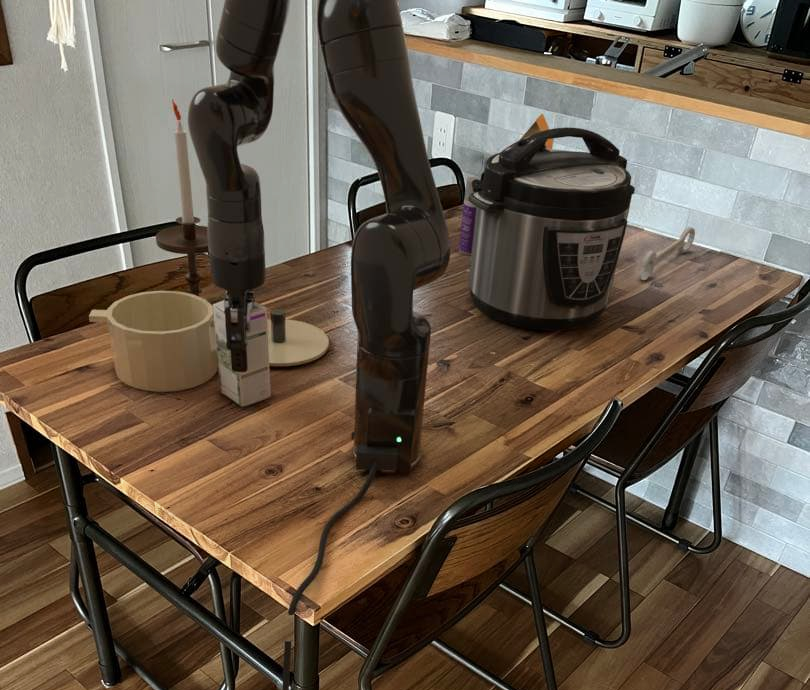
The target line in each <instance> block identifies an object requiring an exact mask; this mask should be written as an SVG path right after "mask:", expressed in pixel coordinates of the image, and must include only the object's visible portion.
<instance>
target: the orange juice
mask: <svg viewBox="0 0 810 690" xmlns="http://www.w3.org/2000/svg"><path fill="white" fill-rule="evenodd" d="M549 129H550V127H549V125H548V122H547V120H546V117H545V115H544V113H541V114H540V115H539V116H538V117H537V118H536V119H535V121H534V122H533V123H532V124H531V126H530V127H529V128H528V129H527V131H526V132H525V133H524V134H523V135H522V136H521V138H519V140H521V139H523V138H525V137H527V136H530V135H532V134H535V133H538V132H541V131H545V130H549ZM554 141H555V138H553V139H547V142H546V143H545V146H546V148H545V149H553V147H554Z"/></svg>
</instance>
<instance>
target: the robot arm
mask: <svg viewBox="0 0 810 690" xmlns="http://www.w3.org/2000/svg"><path fill="white" fill-rule="evenodd" d="M290 6H291V0H224V1H223V7H222V11H221V15H220V20H219V25H218V29H217V35H216V39H215V53H216V56H217V58H218V59H217V60H218V61H219V62H220V63H221V64H222V65H223V66H224V67H225V68H226V69H227V70H229V77H228V79H227V82H226V83H220V84H216V85H211V86H207V87H203V88H201V89H199V90H198V91H196V92H195V93H194V95H193V96H192V98H191V100H190V103H189V106H188V111H187V126H188V132H189V137H190V140H191V142H192V145H193V148H194V151H195V155H196V158H197V161H198V164H199V168H200V170H201V173H202V176H203V179H204V182H205V193H206V207H207V226H206V227H207V235H208V248H209V252H208V262H209V272H210V281H211V282H212V284H213V285H214V286H215V287H217V288H219V289H223V290H225V297H224V298H223V300H224V308H225V310H224V314H225V328H226V339H227V343H226V347H227V350H231V366H232V370H233V371H234V372H246V371H247V368H248V363H247V346H248V342H247V333H249V332H250V331H251V311H252V310H253V303H255V302H256V295H255V291H254V290H256V289H259V288H260V287H262V286H263V285H264V284H265V282H266V279H267V276H266V247H265V230H264V224H263V216H262V212H263V211H262V189H261V179H260V175H259V174H258V171H257V170H256V169H255V168H254V167H252V166H250V165H248V164H244V163H241V160H240V156H239V153H238V147H240V146H244V145H248V144H251V143H254V142H256V141H257V140H260V138H261V137H263V135H264V134H265V132H266V131H267V130H268V127H269V125H270V123H271V121H272V117H273V112H274V99H275V98H274V94H275V92H274V91H275V62H276V60H277V57H278V53H279V50H280V47H281V44H282V40H283V36H284V32H285V29H286V25H287V21H288V16H289V13H290ZM316 7H317V8H316V31H317V37H318V43H319V46H320V52H321V56H322V62H323V65H324V71H325V75H326V78H327V84H328V87H329V90H330V93H331V97H332V99H333V102H334V103H335V105H336V107H337V108H338V110H339V112H340V114H341V116H342V117H343V118H344V120H345V121H346V123H347V124H348V126H349V127H350V129H351V130H352V132H353V133H354V134H355V136H356V137H357V138H358V140H359V141H360V143H361V144H362V145H363V147H364V148H365V150H366V151H367V153H368V154H369V156H370V158H371V160H372V162H373V165H374V167H375V169H376V171H377V174H378V178H379V181H380V185H381V189H382V192H383V197H384V202H385V209H386V213H384V214H381V215H378V216H375V217H372V218H369V219H367V220H366V221H364V222H363V223H362V224H361V225H359V227H358V229H357V230H356V231H355V234H354V236H353V241H352V245H351V251H350V289H351V292H350V293H351V312H352V318H353V321H354V325H355V327H356V331H357V339H356V341H357V343H356V363H355V395H354V396H355V397H354V398H355V399H354V428H353V431H352V432H351V435H350V437H351V438H350V442H351V441H353V446H352V457H353V460H354V461H355V470H357V471H358V470H360V471H364V473H365V474H368V476H367V477H366V480H365V481H364V484H363V486H362V487H361V489H360V490H359V492H358V493H357V494H356V495H355V497H353V499H352V500H351V501H350V502H348V503H347V504H345V506H344V507H342V508H341V509H339V510H338V511H337V512H336V513H335V514H334V515H332V516H331V517H330V519H329V520H328V521H327V523H326V525H325V526H324V528H323V530H322V533H321V536H320V540H319V546H318V552H317V558H316V561H315V564H314V566H313V568H312V570H311V571H310V573H309V574H308V576H307V577H306V578H305V579H304V580H303V582H301V583H300V585H299V586H298V588H297V589H296V591H295V592H294V595H293V596H292V599H291V602H290V604H289V607H288V611H287V614H288V615H289V616H293V615H294V614H295V613H296V610H297V606H298V603H299V601H300V599H301V597H302V595H303V594H304V592H305V591H306V589H307V588H308V587H309V586H310V585H311V584H312V582H314V580H315V579H316V578H317V576H318V574H319V573H320V572H319V571H320V570H321V567H322V564H323V560H324V557H325V550H326V544H327V539H328V536H329V534H330V531H331V530H332V527H333V526H334V525H335V523H336V522H337V521H338V520H339V519H340V518H341V517H342V516H343V515H345V514H346V513H347V512H349V511H350V510H351V509H352V508H353V507H354V506H356V505H357V504H358V503H359V502H360V501H361V500H362V498H363V497H364V496H365V494H366V493H367V492H368V490H369V488H370V486H371V484H372V482H373V480H374V478H375V476H376V475H411V473H412V472H411V471H412V469H414V468H415V467H417V466H418V464H419V463H420V461H421V455H422V453H421V452H422V451H421V444H422V435H423V434H422V432H423V422H424V411H425V399H426V388H427V376H428V375H427V374H428V367H429V354H430V346H431V334H432V330H431V329H432V328H431V324H430V321H429V320H428V319H427V318H426V317H425V316H424V315H422V314H420V313H418V312H416V311H414V291H416V290H418V289H421V288H422V287H425V286H427V285H429V284H431V283H433V282H435V281H437V280H439V279H440V278H441V277H443V275H444V274H445V272H446V270H447V268H448V266H449V263H450V259H451V238H450V233H449V229H448V224H447V221H446V218H445V213H444V209H443V206H442V203H441V199H440V196H439V191H438V188H437V186H436V182H435V178H434V174H433V171H432V167H431V164H430V161H429V160H430V159H429V156H428V152H427V148H426V143H425V138H424V132H423V128H422V122H421V118H420V113H419V109H418V103H417V98H416V94H415V89H414V84H413V78H412V77H413V76H412V70H411V63H410V58H409V52H408V46H407V41H406V36H405V30H404V27H403V25H404V23H403V20H402V16H401V11H400V5H399V3H398V0H317V6H316ZM246 311H247V322H246V324H245V321H244V319H245V316H246ZM233 334H240V335H241V340H236V339H233ZM291 655H292V641H291V640H288V641H287V640H285V641H284V647H283V667H282V690H290V673H291V657H292V656H291Z"/></svg>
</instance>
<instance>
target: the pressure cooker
mask: <svg viewBox="0 0 810 690" xmlns="http://www.w3.org/2000/svg"><path fill="white" fill-rule="evenodd" d="M567 137H569V138H571V137H572V138H581V139H582V140H583V142H584V144H585V146H586V149H587V150H588V151H589V152H587V151H571V150H564V149H554V148H552V149H545V148H546V146H545V143H546V142H547V139H553V138H554V139H560V138H567ZM520 139H521V138H520ZM520 139H519V140H517V141H515V142H514V143H512V144H510V145H508V146H507V147H506V148H504V149H503V150H501V151H500V152H498V153H494V154H492V155H491V156H489V157H488V158H487V160H486V161H485V167H484V171H483V172H482V173H481V175H480V177H481V180H478V179H474V180H473V181H472V187H473V192H475V193H471V194H469V199H468V200H469V201H470V202H471V203H472V204H473V205H475V206H476V216H475V226H474V236H473V244H472V253H471V255H470V263H469V272H468V273H469V274H468V281H467V282H468V284H467V285H468V288H469V295H470V298H471V300H472V303H473V304H474V305H475V307H476V308H477V309H478V310H479V311H480V312H481V313H483V314H485V315H486V316H488V317H490V318H492V319H494V320H497V321H499V322H501V323H504V324H507V325H511V326H515V327H519V328H522V329H523V328H524V329H529V330H536V331H537V330H538V331H539V330H540V331H568V330H573V329H578V328H582V327H585V326H589V325H590V324H592V323H594V322H595V321H596V320H598V319H599V317H600V316H601V315H602V314H603V313H604V311H605V310H606V308H607V306H608V303H609V300H610V298H611V297H610V296H611V293H612V292H611V291H612V288H613V283H614V279H615V274H616V270H617V266H618V262H619V257H620V253H621V251H622V246H623V243H624V238H625V234H626V230H627V226H628V218H629V213H630V208H631V202H632V197H633V195H634V194H635V191H636V187H635V186H633V185H632V184H631V183H632V175H631V173H630V172H629V171H628V170H627V165H628V159H627V158H625V157H623V156H622V155H620V149H619V148H618V147H617V146H616V145H615V144H614V143H612V141H610V140H609V139H607V138H606V137H604V136H603V135H601V134H599V133H597V132H594V131H592V130H589V129H585V128H579V127H554V128H549V130H545V131H541V132H538V133H535V134H532V135H530V136H527V137H525V138H523V139H521V140H520Z"/></svg>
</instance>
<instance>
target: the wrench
mask: <svg viewBox="0 0 810 690" xmlns="http://www.w3.org/2000/svg"><path fill="white" fill-rule="evenodd" d="M687 236H688V238H687ZM695 236H696V230H695V228H694V227H691V226H687V227H686V228H685V229H684V230H683V231H682V233H681V235H680V237H679V239H676V241H674V242H672V243H671V244H670V245H669V246H667V247H666V248H664V249H663V250H661V251H660V252H658V253H657V252H656V251H654V250H649V251H647V253H646V254H645V255H644V257H643V258H642V259H643V260H642V261H641V264H640V266H641V267H643V268H644V269H643V272H642V274H641V277H640V280H641V281H647V280H648V279H649V278H650V276H651V275H652V273H653V270H654V268H655V267H656V266H657V265H659V264H660V263H662V262H663V261H665V260H666V259H667V258H668V257H670V256H671V255H673V254H674V253H676V252H677V251H678V252H679V253H682V254H684V253H687V252H688V250H689V249H690V248H691V247H692V246H693V243H694V240H695ZM686 238H687V240H686ZM685 241H686V243H685V244H684V242H685Z"/></svg>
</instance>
